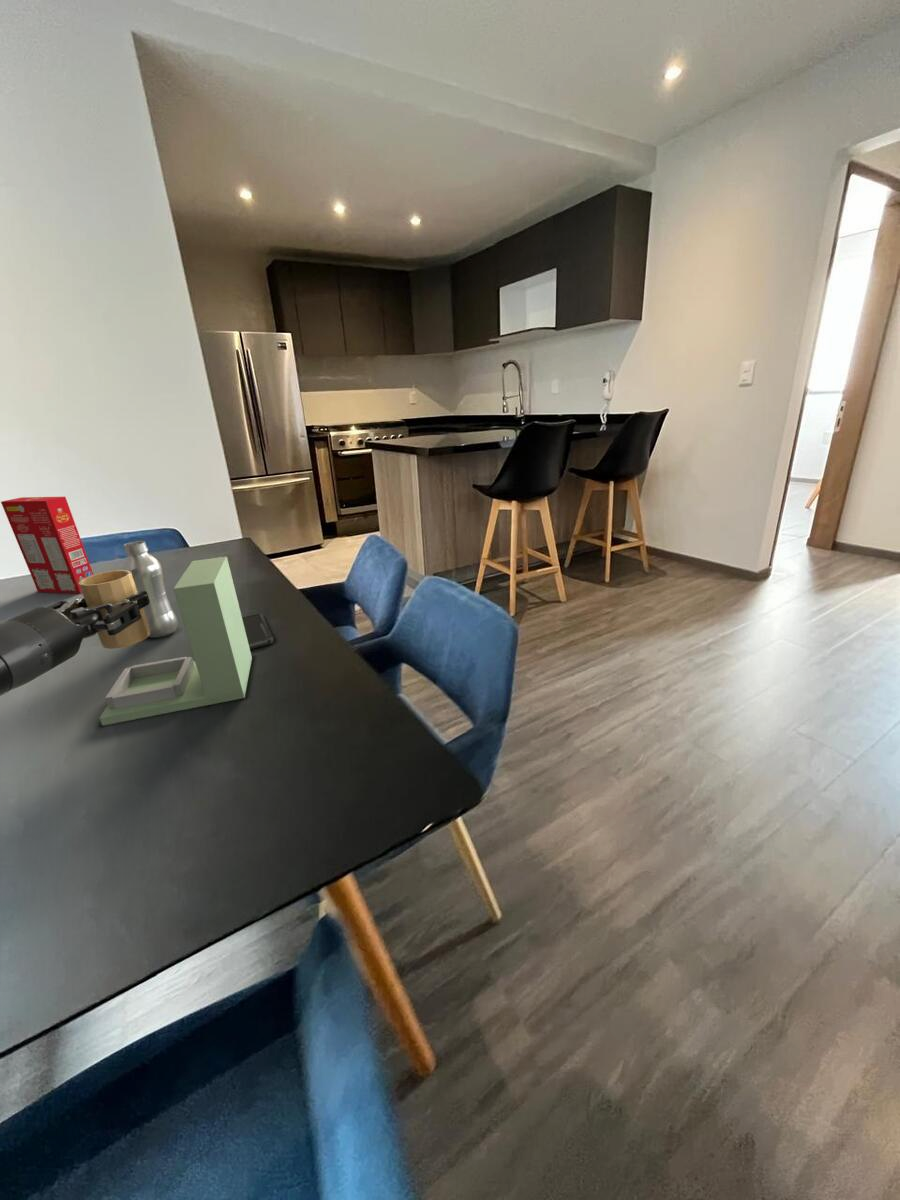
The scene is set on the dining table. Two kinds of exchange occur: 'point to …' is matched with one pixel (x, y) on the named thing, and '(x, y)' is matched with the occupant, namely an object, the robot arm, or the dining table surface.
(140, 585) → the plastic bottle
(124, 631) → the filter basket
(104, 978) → the dining table surface
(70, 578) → the food packaging
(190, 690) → the coffee maker
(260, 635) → the phone
